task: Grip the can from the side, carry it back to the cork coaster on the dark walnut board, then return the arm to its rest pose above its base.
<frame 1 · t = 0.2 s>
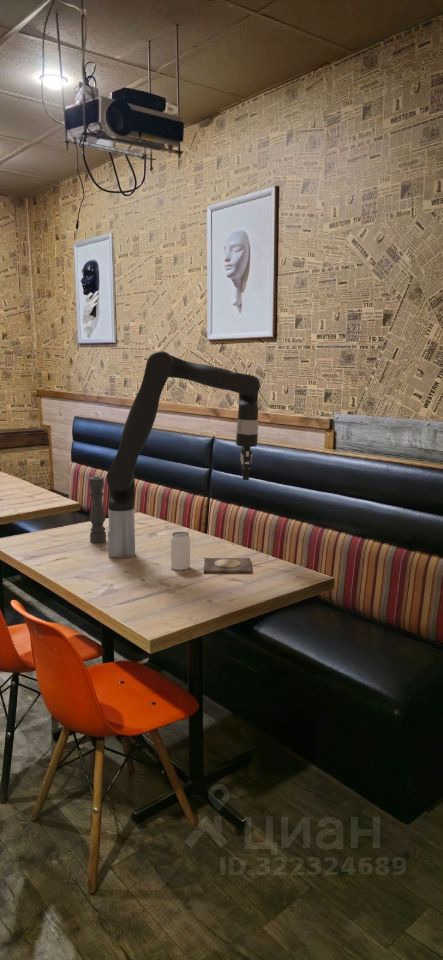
hand: (245, 477, 238), 29 cm above the table, tool pointing down, fingers open, 8 cm apart
candle holder: (98, 541, 261), on the table
can: (180, 568, 228), on the table
rest board: (227, 566, 229), on the table
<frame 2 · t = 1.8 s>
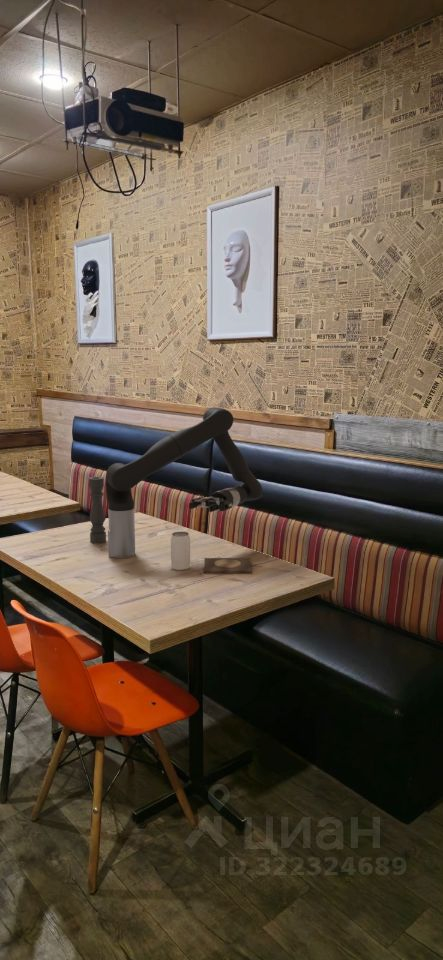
hand: (199, 507, 234), 19 cm above the table, tool horizontal, fingers open, 8 cm apart
nothing on the table moved.
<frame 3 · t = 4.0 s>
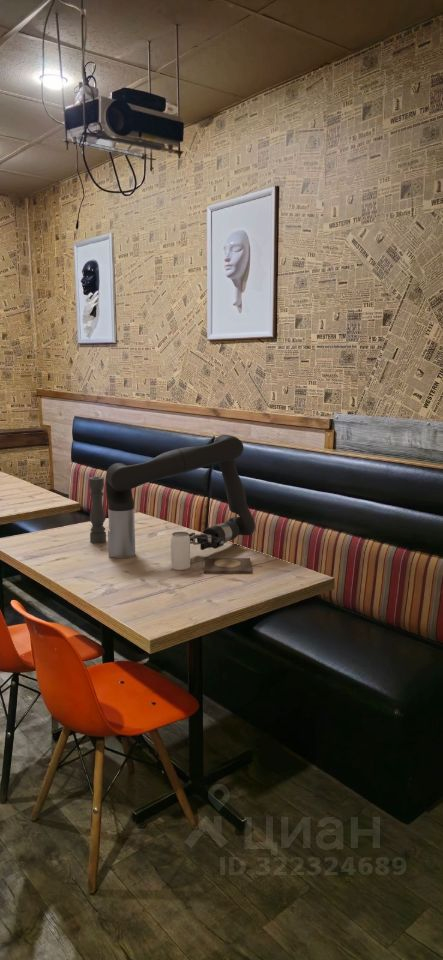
hand: (191, 545, 232), 7 cm above the table, tool horizontal, fingers open, 8 cm apart
nothing on the table moved.
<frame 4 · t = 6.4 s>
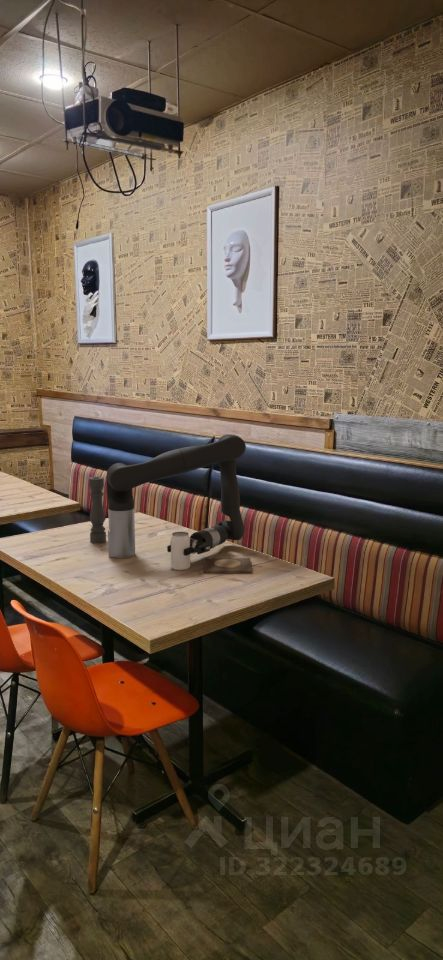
hand: (176, 550, 225), 7 cm above the table, tool horizontal, fingers closed on can, 6 cm apart
can: (180, 568, 228), on the table, touching gripper
everything else where it was.
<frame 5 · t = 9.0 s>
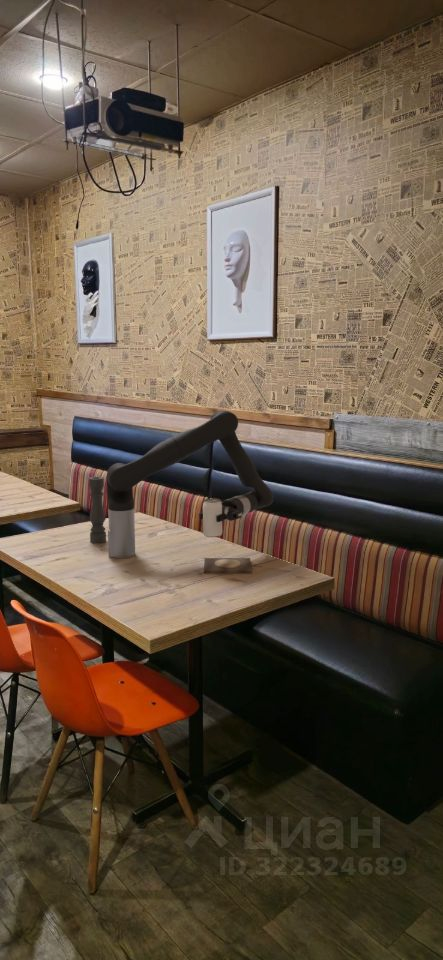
hand: (208, 517, 224), 18 cm above the table, tool horizontal, fingers closed on can, 6 cm apart
can: (212, 535, 227), point 11 cm above the table, touching gripper
everything else where it was.
when the fingers open (9 cm above the table, at t = 12.0 s): can drops 1 cm, resting on rest board.
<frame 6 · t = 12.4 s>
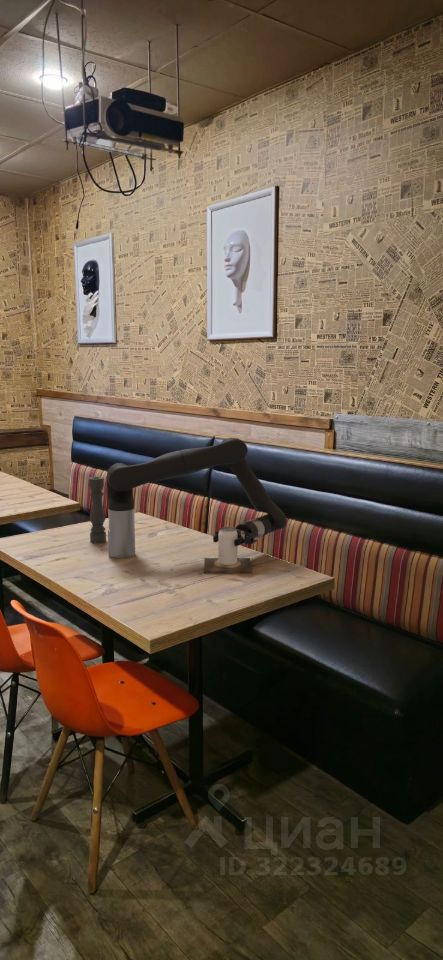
hand: (224, 541, 226), 10 cm above the table, tool horizontal, fingers open, 8 cm apart
can: (227, 563, 229), point 1 cm above the table, touching rest board
everything else where it was.
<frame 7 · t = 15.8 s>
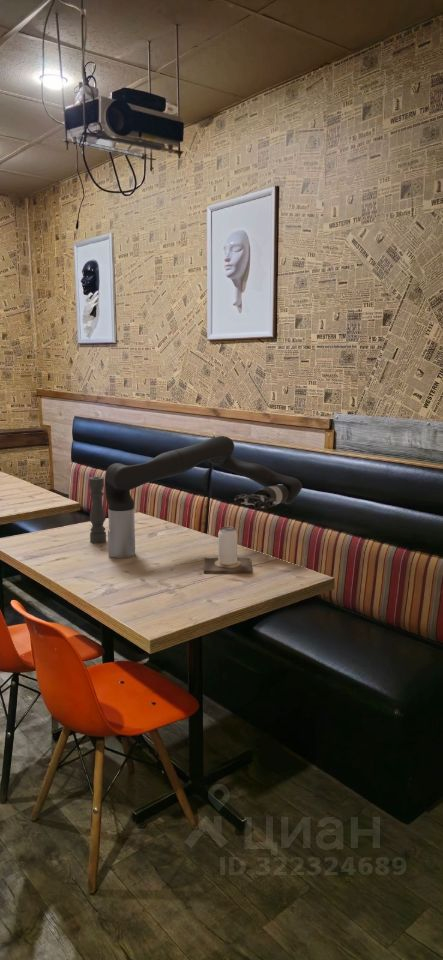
hand: (244, 503, 234), 20 cm above the table, tool horizontal, fingers open, 8 cm apart
nothing on the table moved.
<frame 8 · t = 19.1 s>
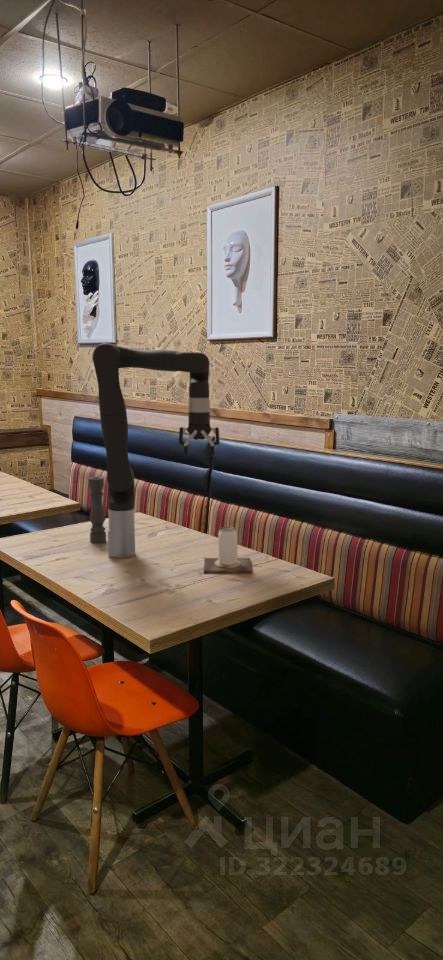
hand: (199, 456, 237), 36 cm above the table, tool pointing down, fingers open, 8 cm apart
nothing on the table moved.
at the end: can inside the target area on the rest board (0.1 cm from its centre), point 1.2 cm above the rest board's base; can tilted 1°; the gripper is holding nothing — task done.
